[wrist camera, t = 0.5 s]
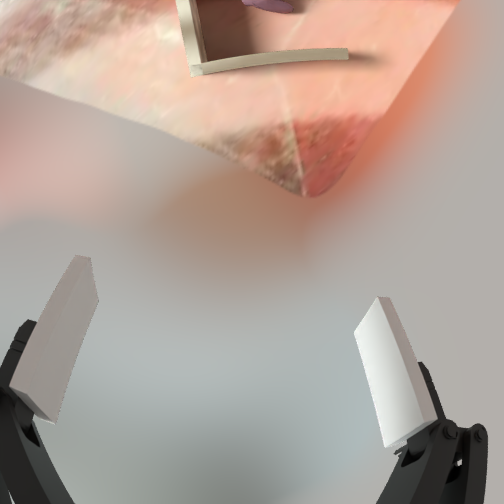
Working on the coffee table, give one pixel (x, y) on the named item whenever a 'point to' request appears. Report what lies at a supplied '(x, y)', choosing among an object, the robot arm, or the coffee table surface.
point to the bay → (202, 66)
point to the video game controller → (270, 5)
